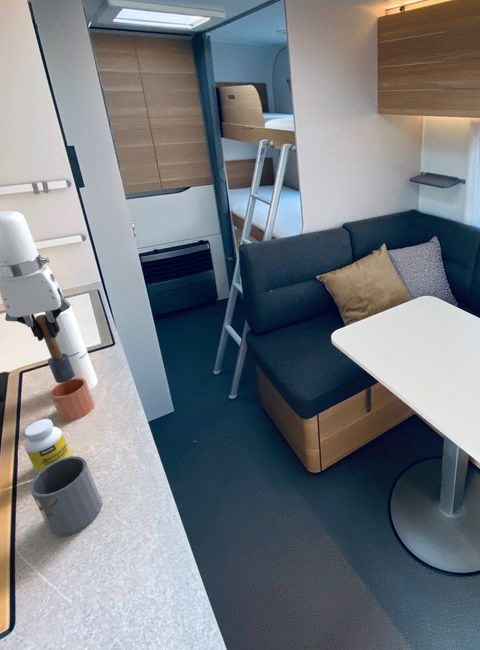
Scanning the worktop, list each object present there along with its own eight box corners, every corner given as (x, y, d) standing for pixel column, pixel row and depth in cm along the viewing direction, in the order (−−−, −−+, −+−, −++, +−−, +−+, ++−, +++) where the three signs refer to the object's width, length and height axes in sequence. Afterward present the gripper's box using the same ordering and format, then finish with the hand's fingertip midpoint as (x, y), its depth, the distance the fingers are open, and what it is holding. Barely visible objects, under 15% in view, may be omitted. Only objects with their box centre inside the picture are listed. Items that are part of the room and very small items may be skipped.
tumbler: (45, 545, 76) (24, 504, 72) (54, 506, 83) (36, 467, 79) (99, 523, 79) (82, 484, 75) (104, 488, 86) (88, 449, 82)
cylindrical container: (64, 389, 116) (33, 312, 106) (91, 375, 121) (64, 301, 111) (74, 399, 112) (43, 320, 102) (102, 384, 117) (75, 308, 108)
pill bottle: (41, 484, 88) (21, 444, 83) (34, 467, 92) (15, 428, 87) (76, 465, 92) (59, 425, 88) (68, 449, 96) (52, 411, 92)
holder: (57, 426, 103) (47, 401, 100) (63, 407, 109) (53, 383, 106) (93, 416, 106) (83, 391, 103) (96, 398, 112) (87, 374, 109)
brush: (54, 384, 101) (28, 322, 94) (57, 375, 104) (32, 314, 97) (73, 379, 103) (49, 318, 95) (76, 370, 106) (52, 310, 99)
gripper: (66, 254, 98) (89, 320, 105) (-20, 268, 91) (11, 337, 98) (60, 265, 91) (85, 335, 99) (-32, 281, 85) (2, 354, 92)
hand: (48, 335), depth 98 cm, fingers closed on brush, 2 cm apart
